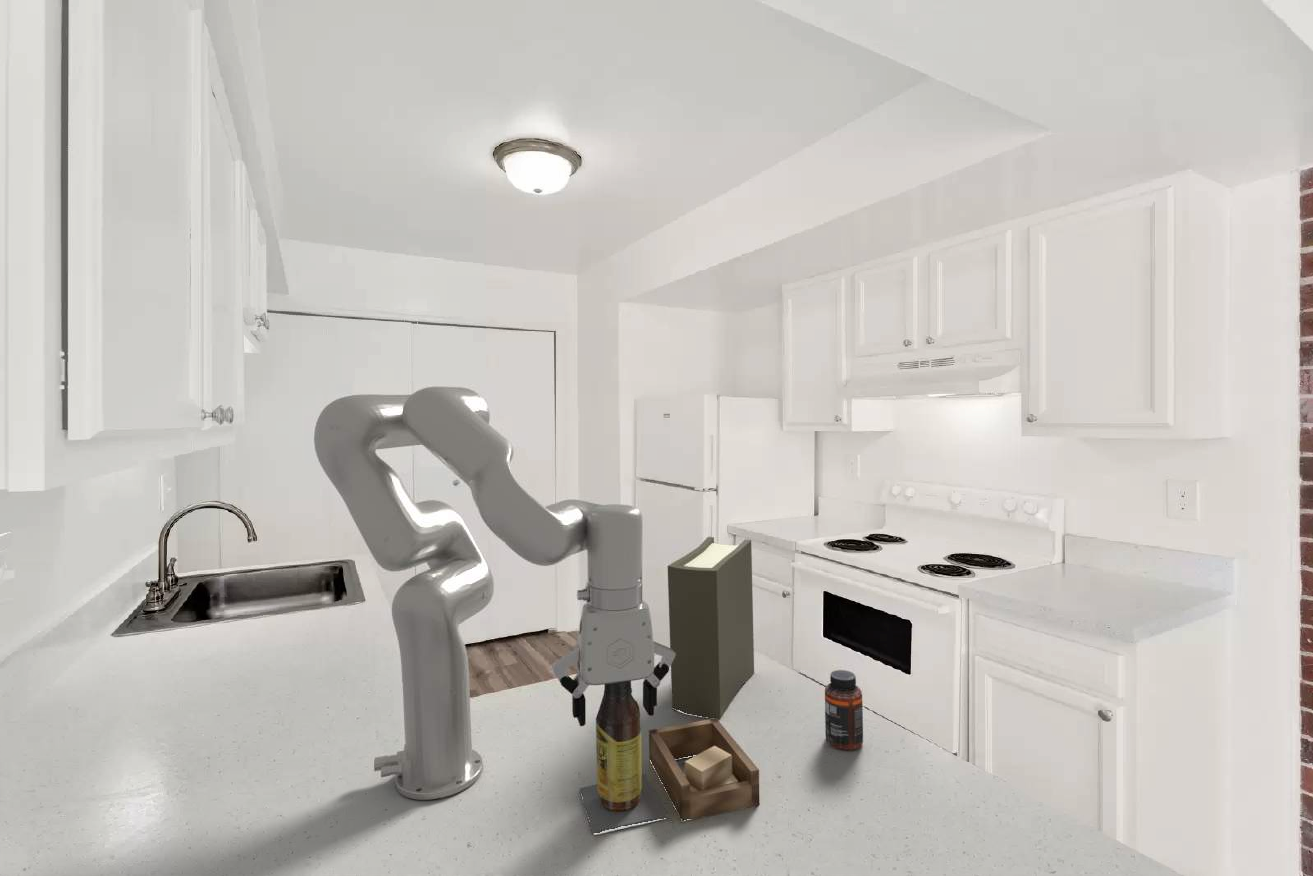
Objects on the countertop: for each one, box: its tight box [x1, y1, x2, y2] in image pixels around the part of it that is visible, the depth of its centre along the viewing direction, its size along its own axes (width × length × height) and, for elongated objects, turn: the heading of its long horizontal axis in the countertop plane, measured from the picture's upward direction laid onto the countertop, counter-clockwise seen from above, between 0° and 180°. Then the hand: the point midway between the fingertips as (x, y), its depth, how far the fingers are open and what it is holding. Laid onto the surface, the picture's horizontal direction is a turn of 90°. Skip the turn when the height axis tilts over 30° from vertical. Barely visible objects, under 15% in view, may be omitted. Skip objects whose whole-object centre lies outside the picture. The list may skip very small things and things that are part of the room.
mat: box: [579, 774, 668, 834], centre depth 89 cm, size 10×10×1 cm
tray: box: [648, 718, 760, 822], centre depth 94 cm, size 11×15×5 cm
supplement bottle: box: [824, 669, 864, 751], centre depth 104 cm, size 6×6×11 cm
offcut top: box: [684, 746, 732, 791], centre depth 91 cm, size 6×3×3 cm, turn 131°
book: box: [667, 536, 755, 720], centre depth 123 cm, size 22×9×28 cm, turn 155°
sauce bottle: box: [595, 681, 643, 811], centre depth 89 cm, size 6×6×20 cm
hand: (615, 716), depth 89 cm, fingers open, 9 cm apart
